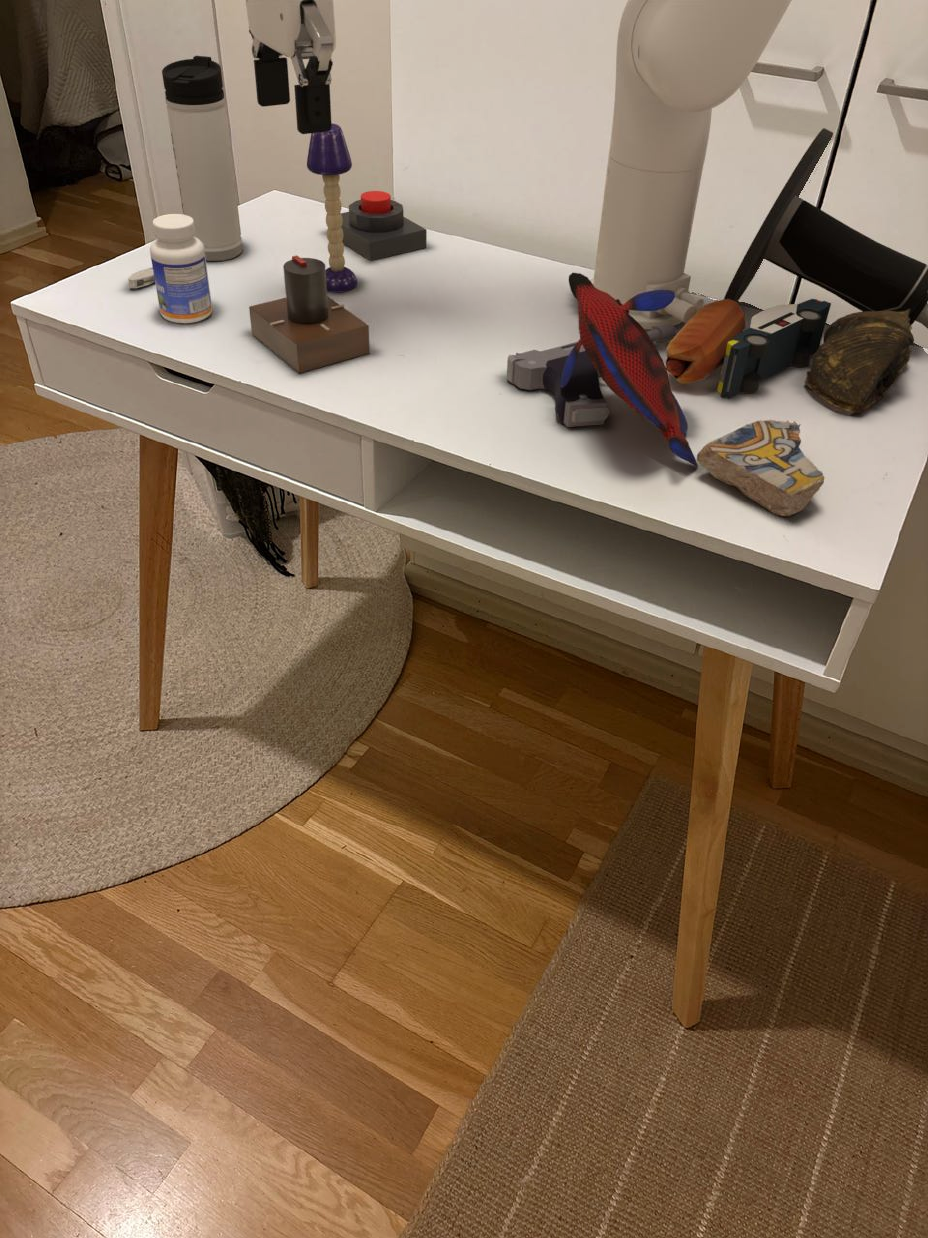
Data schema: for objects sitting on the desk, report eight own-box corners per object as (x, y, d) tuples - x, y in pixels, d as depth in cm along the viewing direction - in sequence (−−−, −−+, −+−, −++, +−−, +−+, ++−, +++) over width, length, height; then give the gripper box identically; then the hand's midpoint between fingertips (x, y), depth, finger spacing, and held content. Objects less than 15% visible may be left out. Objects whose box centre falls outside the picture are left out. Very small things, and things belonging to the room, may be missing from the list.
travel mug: (252, 243, 120) (231, 57, 107) (230, 264, 115) (205, 72, 102) (203, 237, 121) (177, 52, 108) (180, 258, 116) (149, 66, 103)
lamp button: (396, 212, 120) (396, 197, 118) (371, 217, 118) (370, 202, 117) (380, 203, 122) (380, 188, 121) (355, 208, 120) (354, 193, 119)
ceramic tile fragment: (853, 486, 78) (733, 492, 77) (841, 521, 80) (724, 527, 79) (792, 412, 87) (683, 416, 86) (782, 445, 89) (676, 449, 88)
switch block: (426, 247, 121) (426, 213, 118) (370, 260, 117) (369, 226, 115) (382, 221, 127) (381, 189, 124) (328, 233, 123) (326, 200, 121)
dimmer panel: (370, 352, 100) (369, 323, 98) (298, 373, 96) (295, 343, 94) (321, 316, 106) (319, 287, 104) (250, 334, 102) (247, 304, 100)
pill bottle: (161, 303, 107) (144, 211, 100) (212, 301, 108) (199, 209, 101) (160, 326, 103) (143, 231, 96) (213, 322, 104) (200, 228, 97)
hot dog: (720, 384, 93) (673, 398, 96) (760, 330, 102) (715, 345, 105) (700, 335, 91) (653, 352, 94) (743, 285, 100) (698, 301, 103)
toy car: (735, 403, 94) (693, 383, 97) (829, 354, 103) (788, 337, 105) (746, 353, 91) (702, 334, 94) (842, 307, 99) (799, 291, 102)
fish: (607, 205, 81) (680, 270, 93) (494, 303, 87) (577, 352, 99) (716, 394, 75) (780, 438, 87) (586, 487, 80) (663, 515, 93)
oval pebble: (159, 271, 114) (158, 261, 113) (176, 275, 113) (174, 265, 112) (121, 286, 109) (120, 275, 109) (138, 290, 109) (137, 280, 108)
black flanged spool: (715, 323, 115) (910, 430, 112) (731, 273, 96) (965, 400, 93) (806, 174, 113) (1007, 279, 110) (840, 92, 94) (1084, 216, 91)
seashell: (886, 423, 92) (897, 350, 88) (788, 409, 96) (795, 339, 92) (927, 356, 102) (939, 288, 98) (838, 346, 107) (845, 281, 103)
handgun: (743, 360, 95) (663, 312, 103) (576, 409, 87) (502, 353, 95) (738, 385, 97) (659, 335, 105) (573, 435, 89) (501, 378, 97)
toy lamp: (354, 295, 110) (347, 133, 99) (312, 293, 110) (301, 131, 99) (359, 277, 114) (352, 119, 103) (318, 276, 114) (307, 117, 103)
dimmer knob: (335, 317, 99) (332, 265, 95) (300, 327, 97) (295, 273, 93) (315, 303, 101) (312, 251, 97) (280, 312, 99) (275, 259, 96)
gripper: (364, -91, 80) (369, 138, 91) (280, -116, 91) (294, 91, 102) (276, -89, 77) (292, 148, 88) (200, -115, 88) (224, 98, 99)
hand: (293, 117), depth 95 cm, fingers open, 9 cm apart
